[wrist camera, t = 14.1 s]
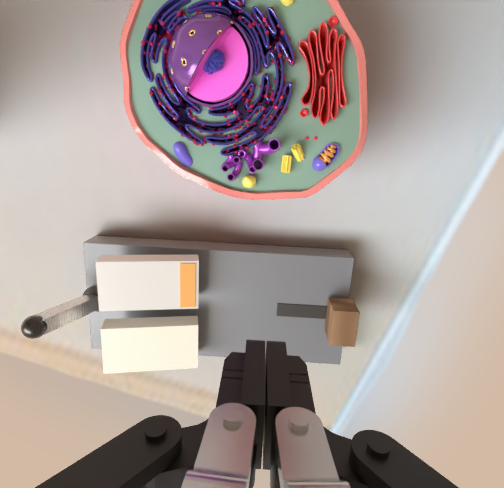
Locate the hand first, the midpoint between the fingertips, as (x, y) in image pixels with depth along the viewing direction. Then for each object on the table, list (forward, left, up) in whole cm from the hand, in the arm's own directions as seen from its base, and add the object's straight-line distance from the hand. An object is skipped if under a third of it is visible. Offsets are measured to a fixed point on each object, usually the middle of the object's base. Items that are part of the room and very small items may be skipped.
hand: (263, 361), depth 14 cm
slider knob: (+8, -8, -22) cm, 25 cm away
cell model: (-2, +12, -25) cm, 28 cm away
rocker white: (-10, -5, -19) cm, 23 cm away
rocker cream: (-10, -12, -19) cm, 25 cm away
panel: (-4, -8, -25) cm, 27 cm away
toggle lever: (-17, -8, -21) cm, 29 cm away
